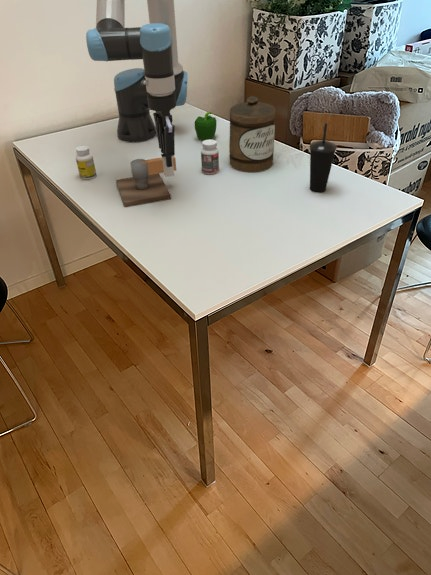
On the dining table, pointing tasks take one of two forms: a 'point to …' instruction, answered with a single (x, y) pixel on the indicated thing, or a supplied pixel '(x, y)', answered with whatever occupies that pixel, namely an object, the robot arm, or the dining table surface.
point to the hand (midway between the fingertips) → (169, 175)
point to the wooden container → (252, 135)
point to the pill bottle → (209, 157)
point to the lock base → (142, 190)
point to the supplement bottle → (85, 163)
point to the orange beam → (148, 167)
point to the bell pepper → (205, 127)
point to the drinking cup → (321, 163)
